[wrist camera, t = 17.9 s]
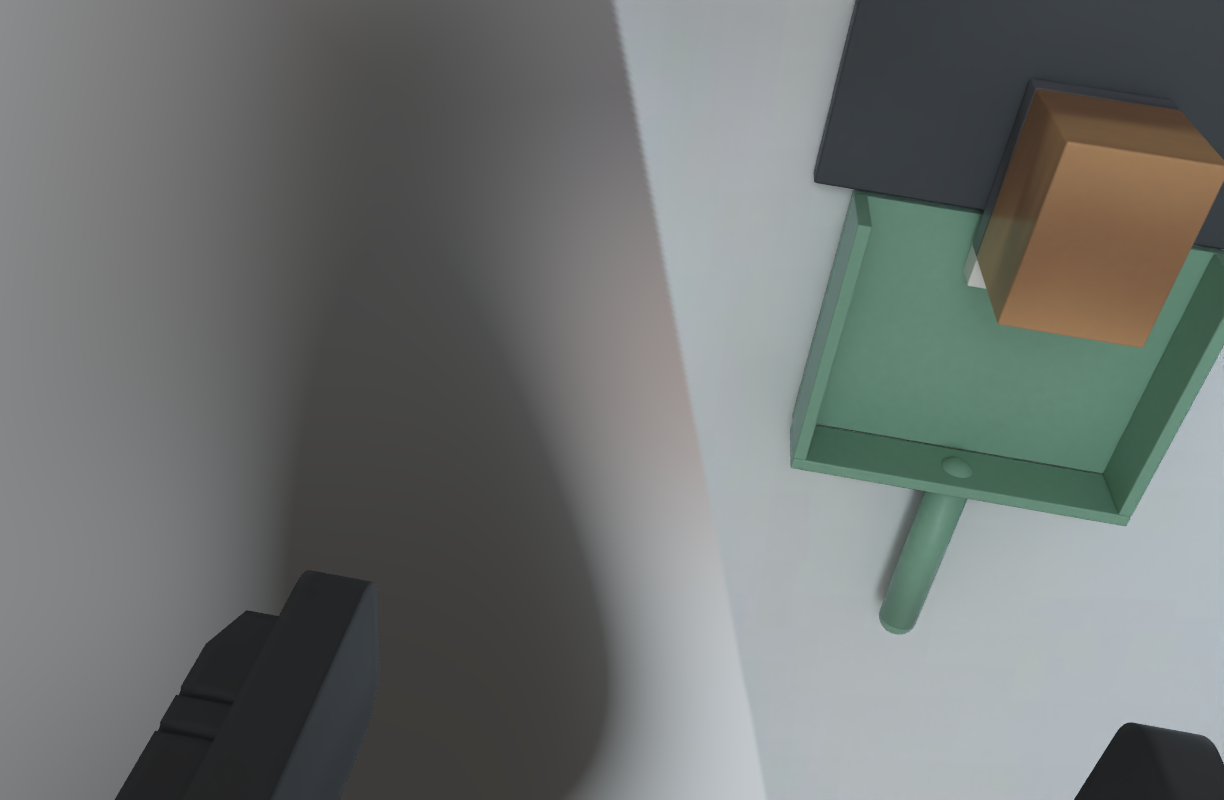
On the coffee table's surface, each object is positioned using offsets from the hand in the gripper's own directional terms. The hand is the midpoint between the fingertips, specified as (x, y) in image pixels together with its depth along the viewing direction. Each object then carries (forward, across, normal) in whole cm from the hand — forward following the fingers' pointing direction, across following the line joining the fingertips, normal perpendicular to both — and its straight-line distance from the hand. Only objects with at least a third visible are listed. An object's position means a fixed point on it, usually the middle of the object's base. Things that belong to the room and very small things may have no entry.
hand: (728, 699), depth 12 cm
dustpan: (+28, -11, +15) cm, 34 cm away
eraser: (+27, -11, +4) cm, 30 cm away
